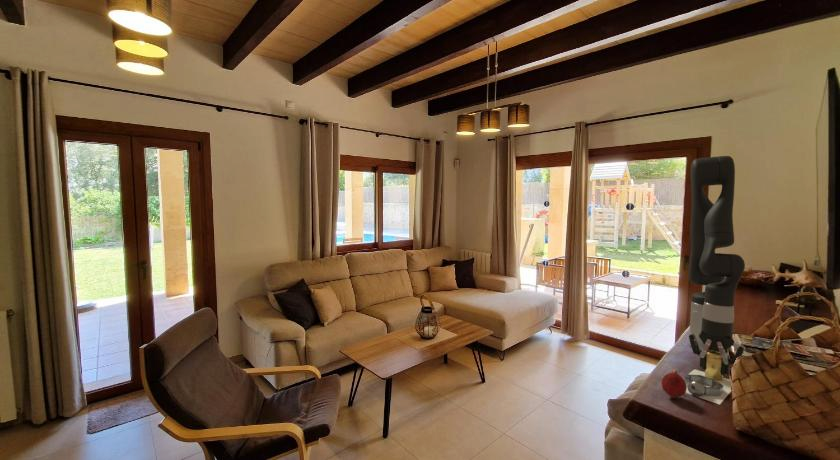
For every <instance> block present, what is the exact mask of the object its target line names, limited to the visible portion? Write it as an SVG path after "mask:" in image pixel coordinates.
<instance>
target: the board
mask: <svg viewBox="0 0 840 460" xmlns="http://www.w3.org/2000/svg"><path fill="white" fill-rule="evenodd" d="M688 374H690V375H702V376H705V371H701V370H699V369H696V368H695V369H693V370H692V371H690V372H689V373H688ZM682 378H683V379H684V377H682ZM730 380H731V379H729V378H725V377H723V380H722V381H718V382H719V383H721V384H722V385H723V393H722V394H721V395H720V396H706V395H702V396H699V397H697V396H694V395H692V394H691V393H690V392H689V391H688V388H687V390H686V392H685V393H684V394H683V396H685V397H686V395H685V394H688V395H691V396H694V397H697V398H700V399H702V400H706V401H708V402H711V403H714V404H717V405H721V404H722V403H723V402H724V400H725V399H726V398H727V396H728V395H729V394H730V393H731V392H732V391H733V389H732V390H731V383H730ZM704 385H705V384H704ZM705 386H706V387H711V386H708V385H705ZM691 399H693V400H696V401H699V402H701V403H703V401H700V400H698V399H695V398H693V397H691ZM708 405H710V406H713V407H716V408H717V406H716V405H712V404H710V403H708Z"/></svg>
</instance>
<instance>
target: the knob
mask: <svg viewBox="0 0 840 460" xmlns="http://www.w3.org/2000/svg"><path fill="white" fill-rule="evenodd" d="M705 354H706V363H705V370H704V372H705V377H708V378H711V379H715V380H716V381H722V380H723V378H724V376H723V375H722V366H723V363H724V362H723V357H722V356H721V354H720V352H717V351H715V350H708V351H707V352H705Z"/></svg>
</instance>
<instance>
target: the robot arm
mask: <svg viewBox="0 0 840 460" xmlns="http://www.w3.org/2000/svg"><path fill="white" fill-rule="evenodd" d="M735 167H736V166H735V162H734V158H733V157H731V156H730V155H720V156H712V157H711V156H710V157H699V158H695V159H693V161H692V162H691V165H690V182H691V183H690V187H691V188H690V189H691V214H690V255H689V262H688V264H689V265H688V274H687V275H688V280H689V281H690V283H691V284H693V285H701V286H705V287H704V288H705V289H704V291H702V292H695V293H693V294H692V295H691V303H690V316H689V317H690V318H689V320H690V321H689V334H688V346H689V347H691V349H692V353H693V354H694V355H696V356H698V357H699V367H700V368H701V370H703V371H705V363H706V354H705V352H707V351H708V350H715V351H717V352H720V354H721V356H722V357H723V362H724V363H723V366H722V375H723V377H725V376H728V375H729V374H730V371H731V370H730V368H731V365H734V362H735V360H736V358H737V357H739V356H741V357H742V356H743V353H744V351H745V350H746V345H744V344H738V343H737V342H735V340H734V338H733V335H734V323H735V307H734V306H735V304H734V303H735V295H736V291H737V290H736V289H737V288H738V287H737V286H738V284H739V282H740V281H741V277H742V276H743V274H744V271H745V268H746V264H745V260H744V258H743V257H742V256H741V255H739V254H735V253H718V252H717V253H716V249H721V248H729V247H731V246H733V245H734V244H735V233H734V232H735V231H734V220H733V219H734V217H733V215H734V213H733V212H734V211H733V210H734V200H735V186H736V185H735V184H736V183H735V181H736V180H735V179H736V178H735V177H736V168H735ZM707 186H721V191H720V194H719V196H718V197H717V199H716V201H715V202H714V203H713V202H712V201H711V200H710V199H709V197H708V196H707V194H706V192H705V190H704V187H707ZM731 347H733V350H734V352H735V354H734V356H733V358H730V353H729V349H730V348H731Z"/></svg>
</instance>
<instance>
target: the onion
mask: <svg viewBox="0 0 840 460" xmlns="http://www.w3.org/2000/svg"><path fill="white" fill-rule="evenodd" d="M683 378H684V377H682V376H681V375H679V374H678V371H677V369H673V370H672V371H671V372H670V373H667V374H665V375H664V376H663V377H662V379H661V387H662V390H663V391H664V392H665V394H667V395H668V397H670V398H672V399H676V398H680V397H681V396H684V395H685V394H686V393H685V392H686V390H687V386H686V383H685V381H684V379H683Z"/></svg>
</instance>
